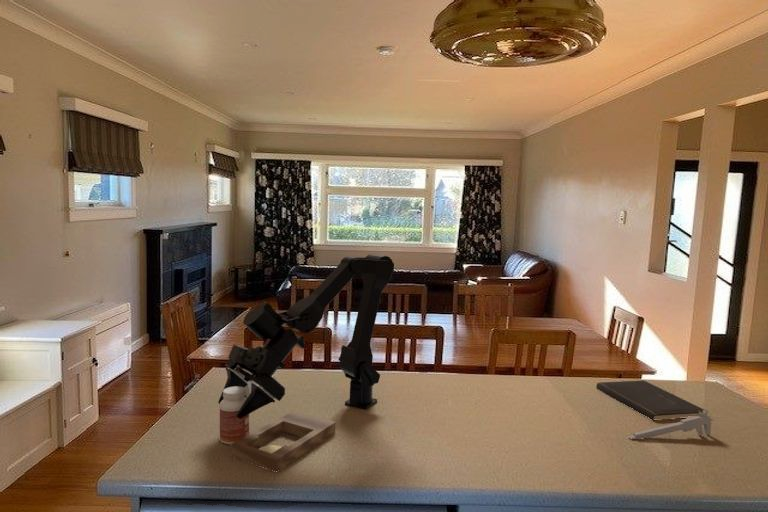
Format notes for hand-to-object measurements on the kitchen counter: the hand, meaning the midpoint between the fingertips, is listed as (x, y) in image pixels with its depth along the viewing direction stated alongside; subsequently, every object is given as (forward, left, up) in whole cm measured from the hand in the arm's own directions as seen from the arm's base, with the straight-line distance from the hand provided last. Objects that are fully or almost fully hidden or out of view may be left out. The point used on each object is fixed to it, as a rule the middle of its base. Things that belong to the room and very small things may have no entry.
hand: (228, 410), depth 106 cm
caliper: (-54, +84, -7) cm, 101 cm away
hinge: (-26, -17, -7) cm, 31 cm away
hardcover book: (-76, +80, -8) cm, 111 cm away
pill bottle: (-1, 0, -7) cm, 7 cm away
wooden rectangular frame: (-5, +11, -7) cm, 14 cm away
